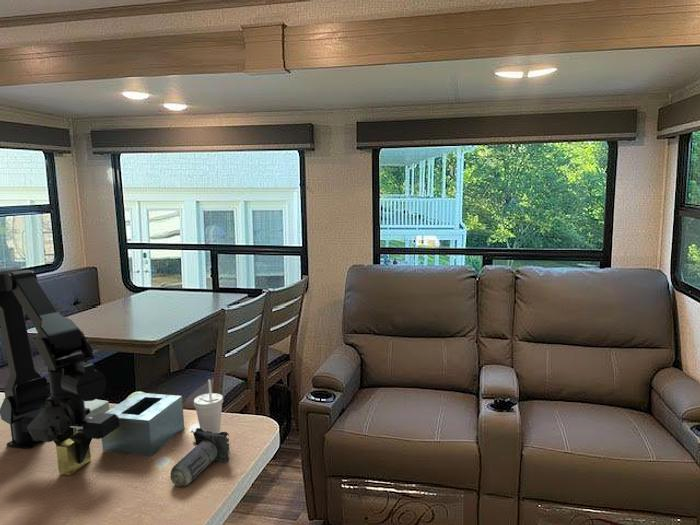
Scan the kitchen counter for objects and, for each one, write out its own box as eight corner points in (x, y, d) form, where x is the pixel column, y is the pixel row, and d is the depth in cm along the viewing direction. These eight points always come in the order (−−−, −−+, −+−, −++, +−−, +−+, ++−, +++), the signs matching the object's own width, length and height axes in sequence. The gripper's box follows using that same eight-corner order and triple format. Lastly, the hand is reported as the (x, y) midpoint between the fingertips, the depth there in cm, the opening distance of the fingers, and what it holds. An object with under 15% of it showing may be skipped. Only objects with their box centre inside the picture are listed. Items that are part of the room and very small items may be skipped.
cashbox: (102, 451, 115) (99, 416, 114) (139, 424, 127) (136, 392, 126) (152, 456, 112) (148, 420, 111) (184, 428, 125) (181, 395, 124)
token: (59, 474, 106) (55, 446, 105) (80, 458, 112) (77, 432, 111) (69, 475, 105) (66, 447, 104) (90, 459, 111) (88, 433, 110)
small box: (93, 429, 126) (91, 410, 125) (74, 426, 128) (72, 407, 127) (111, 419, 131) (109, 400, 130) (93, 416, 133) (91, 397, 132)
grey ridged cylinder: (202, 460, 113) (166, 495, 101) (192, 427, 112) (155, 458, 100) (238, 459, 110) (206, 494, 98) (229, 424, 108) (195, 456, 97)
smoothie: (218, 447, 115) (214, 386, 113) (191, 445, 116) (186, 384, 114) (230, 433, 121) (226, 375, 119) (204, 431, 123) (200, 374, 120)
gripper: (-7, 402, 100) (3, 479, 103) (77, 409, 96) (86, 489, 98) (39, 380, 111) (48, 450, 113) (117, 386, 107) (124, 458, 109)
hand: (75, 462), depth 108 cm, fingers closed on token, 2 cm apart
